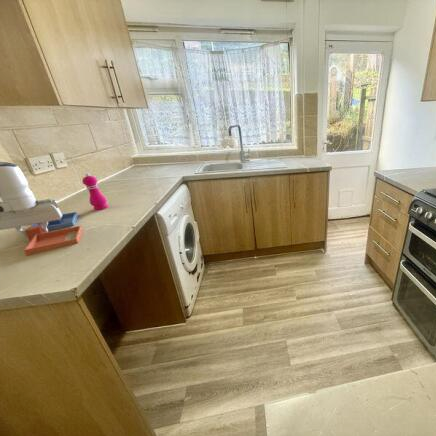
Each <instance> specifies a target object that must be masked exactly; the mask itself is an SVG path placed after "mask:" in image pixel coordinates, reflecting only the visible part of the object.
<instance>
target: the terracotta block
mask: <svg viewBox="0 0 436 436" xmlns="http://www.w3.org/2000/svg"><path fill="white" fill-rule="evenodd" d="M42 228H43V226H42V225H37V226H32V227H30V226H28V227H26V229H24V230H25V233H26V235H27V236H26V237H27V238H28V240H29V241H31V239H32V238H33V237H34V235H36V234H41V233H43V232H42V230H41V229H42ZM44 233H46V232H44Z"/></svg>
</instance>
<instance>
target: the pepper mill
mask: <svg viewBox="0 0 436 436" xmlns="http://www.w3.org/2000/svg"><path fill="white" fill-rule="evenodd" d="M84 175H85V176H84V177H83V178H82V184H83V185H84V186H85V188H86V190H88V192H89V204H90V205H91V206H92V208H93V211H96V210H97V211H103V210H105V209H108V208H109V206H108V204H107V201H108V200H107V198H106V197H105V196H104V195H103V194H102V193H101V191H100V190H99V185H98V179H97V178H96V177H95V176H93V175H91V174H90V173H89V172H86V173H85V174H84Z"/></svg>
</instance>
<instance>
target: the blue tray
mask: <svg viewBox="0 0 436 436" xmlns="http://www.w3.org/2000/svg"><path fill="white" fill-rule="evenodd" d="M61 218H62V220H63V222H62V224H56V225H51V226H48V225H47V229H48V232H51V231H56V230H61V229H66V228H71V227H75V224H76V223H75V222H77V220H78V218H79V214H78V212H77V211H74V212H67V213H62V217H61ZM37 225H42V226H43V228H44V226H45V225H43V224H42V223H38V224H33V225H29V227H32V226H37Z"/></svg>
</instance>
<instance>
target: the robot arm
mask: <svg viewBox="0 0 436 436" xmlns="http://www.w3.org/2000/svg"><path fill="white" fill-rule="evenodd" d="M0 199H1V201H0V231H5V230H10V229H15V230H16V231H17V232H19V233H21V234H22V236H23V237H27V235H26V233H25V230H26V229H24V228H23V227H27V226H31V225H33V224H38V223H42V224H43V225H45V226H44V228H42V229H41V230H42V232H43V233H44V232H49V231H48V229H47V225H48V222H49V221H55V220H60V219H61V217H62V214H63V213H62V212H61V209H60V208H59V204H58V201H56V200H55V199H52V198H47V199H39V200H37V199H36V197H35V195H34V192H33V191H32V190H31V189H30V186H29V182H28V179H27V178H26V176H25V174H24V172H23V171H22V169H21V168H20V167H19V166H18V165H17V164H16V163H12V162H7V161H5V162H4V161H0Z"/></svg>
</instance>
